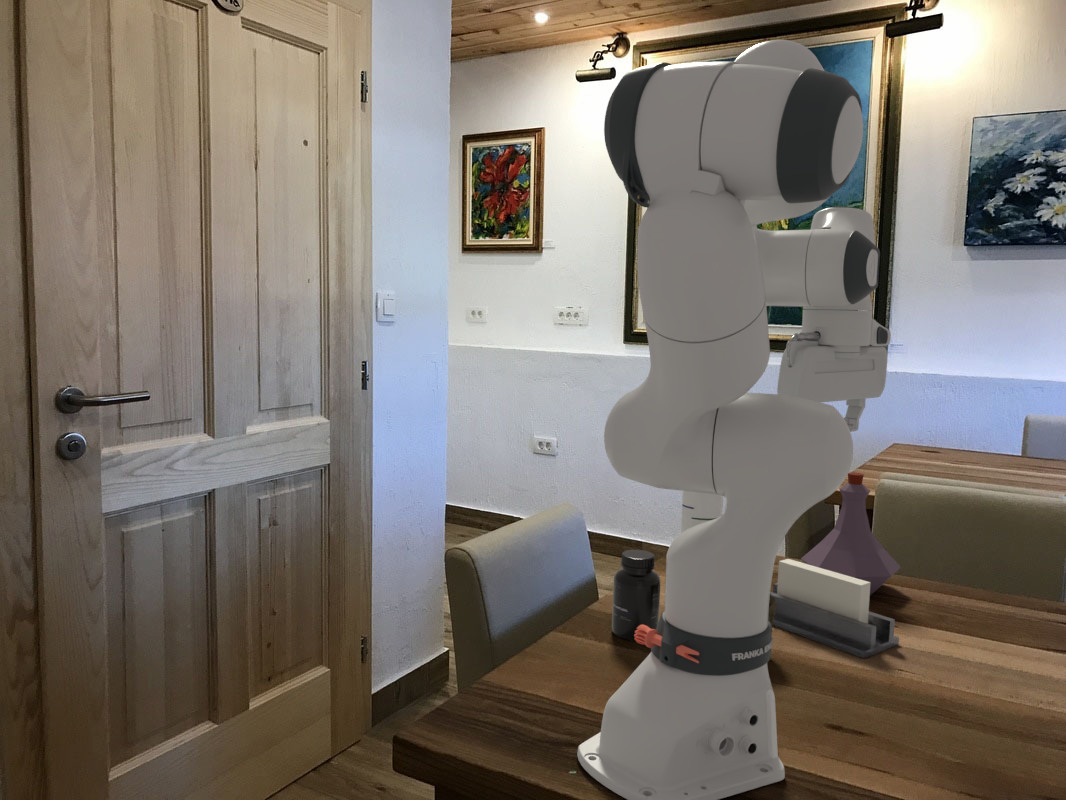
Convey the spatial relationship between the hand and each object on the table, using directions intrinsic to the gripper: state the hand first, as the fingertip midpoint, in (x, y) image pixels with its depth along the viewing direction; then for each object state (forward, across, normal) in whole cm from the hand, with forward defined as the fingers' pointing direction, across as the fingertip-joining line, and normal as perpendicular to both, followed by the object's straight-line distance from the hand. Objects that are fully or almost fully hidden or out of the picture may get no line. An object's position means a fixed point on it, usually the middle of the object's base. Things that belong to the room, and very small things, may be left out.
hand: (830, 433), depth 117 cm
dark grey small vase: (+31, -8, +6) cm, 33 cm away
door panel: (+30, +8, +5) cm, 31 cm away
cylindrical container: (+31, +14, +34) cm, 48 cm away
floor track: (+31, +8, +5) cm, 32 cm away
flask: (+31, +30, +14) cm, 46 cm away
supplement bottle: (+31, -16, +20) cm, 40 cm away
